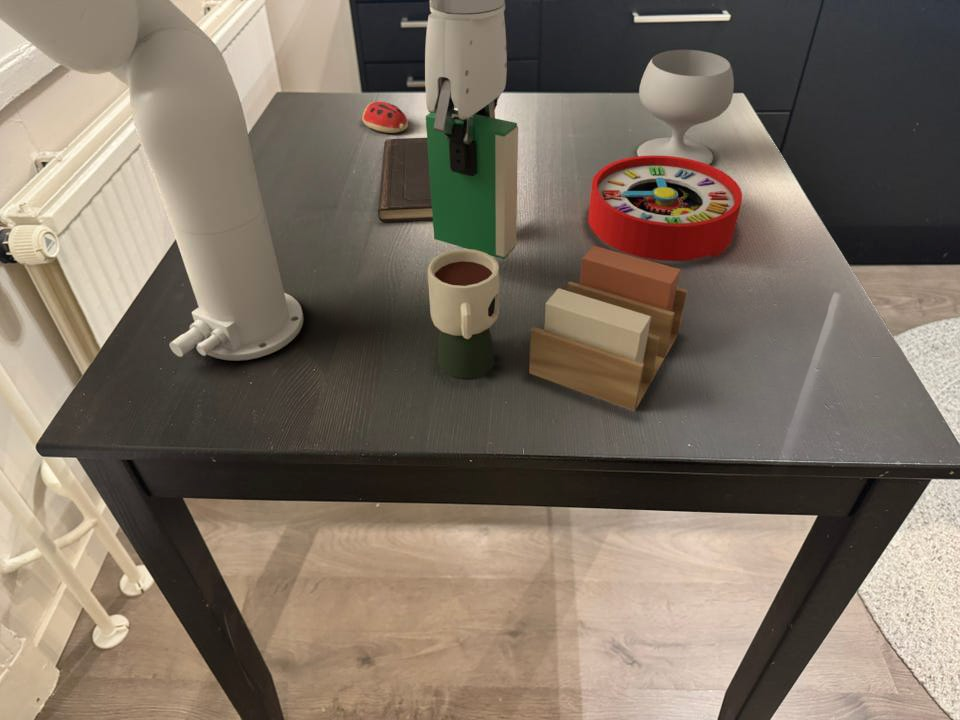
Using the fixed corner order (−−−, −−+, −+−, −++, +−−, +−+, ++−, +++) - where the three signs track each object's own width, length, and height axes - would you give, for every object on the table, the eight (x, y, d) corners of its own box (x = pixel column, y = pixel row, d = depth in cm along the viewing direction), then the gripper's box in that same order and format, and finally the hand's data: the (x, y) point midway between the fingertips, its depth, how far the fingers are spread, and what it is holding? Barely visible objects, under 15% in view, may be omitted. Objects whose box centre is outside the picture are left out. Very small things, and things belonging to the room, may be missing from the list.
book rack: (633, 416, 74) (642, 366, 70) (528, 378, 79) (530, 329, 74) (677, 337, 83) (688, 289, 79) (581, 307, 88) (586, 260, 84)
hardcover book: (480, 148, 122) (480, 135, 120) (490, 218, 104) (490, 203, 103) (385, 152, 121) (383, 139, 120) (379, 222, 104) (377, 208, 102)
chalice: (636, 134, 125) (648, 44, 115) (719, 143, 122) (739, 50, 112) (626, 170, 115) (638, 75, 105) (717, 181, 112) (738, 83, 102)
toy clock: (759, 226, 90) (598, 225, 91) (748, 265, 94) (594, 265, 95) (724, 155, 105) (586, 155, 106) (716, 191, 109) (582, 191, 110)
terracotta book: (658, 350, 81) (671, 283, 75) (576, 323, 84) (582, 258, 78) (667, 335, 83) (680, 269, 77) (586, 309, 86) (592, 245, 80)
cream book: (629, 401, 75) (640, 333, 69) (541, 369, 78) (545, 303, 72) (639, 383, 77) (651, 316, 71) (553, 354, 80) (558, 287, 74)
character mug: (503, 397, 76) (504, 297, 68) (435, 401, 76) (428, 301, 68) (494, 332, 85) (494, 236, 76) (433, 336, 84) (426, 239, 76)
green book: (504, 260, 88) (505, 133, 77) (433, 239, 91) (425, 116, 81) (516, 247, 90) (518, 122, 79) (446, 228, 93) (439, 106, 83)
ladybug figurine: (381, 113, 133) (379, 93, 131) (419, 127, 128) (417, 107, 126) (353, 124, 130) (350, 105, 127) (391, 140, 125) (389, 119, 122)
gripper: (475, -31, 78) (478, 133, 90) (388, 10, 68) (405, 189, 80) (538, -23, 75) (532, 145, 87) (457, 21, 65) (464, 205, 77)
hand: (471, 164), depth 83 cm, fingers closed on green book, 3 cm apart
